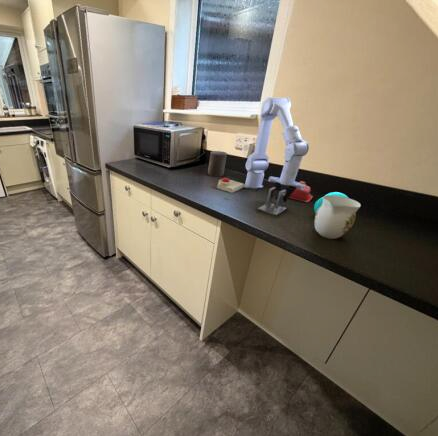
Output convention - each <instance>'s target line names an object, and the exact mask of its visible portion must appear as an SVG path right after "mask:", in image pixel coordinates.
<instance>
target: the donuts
mask: <svg viewBox="0 0 438 436" xmlns="http://www.w3.org/2000/svg"><path fill="white" fill-rule="evenodd" d="M328 195H334V196H341V197H346V198H349V196H347V195H346V194H345V193H342V192H338V191H333V192H328V193H327V194H325V195H324V196H328ZM324 196H321V197H320V198H319V199H316V201H315V203H314V206H313V211H314V214H316V212H317V210H318V208H319V207H320V206H321V205H322V203H323V197H324Z"/></svg>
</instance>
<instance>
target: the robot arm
mask: <svg viewBox="0 0 438 436" xmlns="http://www.w3.org/2000/svg"><path fill="white" fill-rule="evenodd" d="M261 104H262V105H261V109H260V121H259V126H258V131H257V136H256V141H255V147H254V151H253V152H252V153H250V154H249V155H248V156H247V160H246V162H245V169H246V173H247V174H246V179H245V183H244V189H248V188H249V189H259V188H261V189H262V188H264V185H263V181H264V177H265V171H267V170H268V168H269V155H268V154H267V153H266V152H267V149H268V148H267V147H268V144H269V143H268V142H269V139H270V134H271V129H272V125H273V120H274V119H276V118H277V117H278V119H279V121H280V124H281V125H282V128H283V131H282V137H283V140H284V144H285V145H286V147H285V148H284V163H283V167H282V169H281V174H280V177H276V176H269V177H268V180H267V181H268V182H269V183H270V182H271V183H274V184H273V187H276V190H277V191H282V190H283V187H284V186H287V187H286V196H285V198H284V200H283V203H287V202H288V200H289V199H290V198H289V197H290V195H291V194H292V193H293V192H294V191H295V190H296V189H297V188H298V189H300V190H304V189H305V186H307V184H301V183H299V182H298V181H296V177H297V176H298V172H299V169H300V165H301V162H302V159H303V157H305V156H306V155H307V154H308V152H309V149H310V146H309V143H308V142H307V141H305V140H304V139H303V138H302V135H301V133H300V130H299V129H300V128H299V127H298V126H297V125H294V122H293V119H292V114H291V110H290V109H291V107H292V103H291V100H290V98H289V97H270V96H269V97H267V98H265V100H264V101H263V102H262V103H261ZM277 198H278V197H275V196H274V200H276V201H277Z"/></svg>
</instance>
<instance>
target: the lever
mask: <svg viewBox="0 0 438 436" xmlns="http://www.w3.org/2000/svg"><path fill="white" fill-rule="evenodd" d="M279 192H280V191H277V190H274V191H273V193H272V195H273V196H274V198H275V197H278V194H279ZM285 196H286V195H284V198H285ZM284 198H283V201H284Z"/></svg>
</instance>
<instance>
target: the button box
mask: <svg viewBox="0 0 438 436" xmlns="http://www.w3.org/2000/svg"><path fill="white" fill-rule="evenodd" d="M216 185H217V186H216V188H217V189H219V190H221V191H225V192H228V193H231V194H233V193H235V192H237V191H239V190H241V189H243V188H244V189H245V187H244V185H245V183H243V182H239V181H236V180H233V179H229V182H222V178H221V179H219V180H218V184H216Z"/></svg>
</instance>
